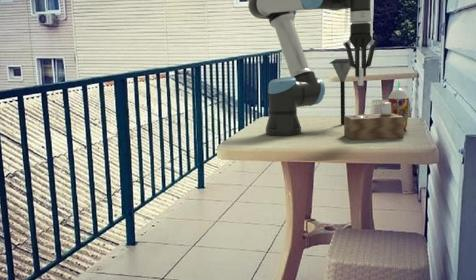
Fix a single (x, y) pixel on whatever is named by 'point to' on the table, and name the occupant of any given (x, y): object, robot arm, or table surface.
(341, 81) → the solar garden light
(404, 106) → the smoothie
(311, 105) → the robot arm
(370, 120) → the block
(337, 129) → the table surface
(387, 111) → the peg
